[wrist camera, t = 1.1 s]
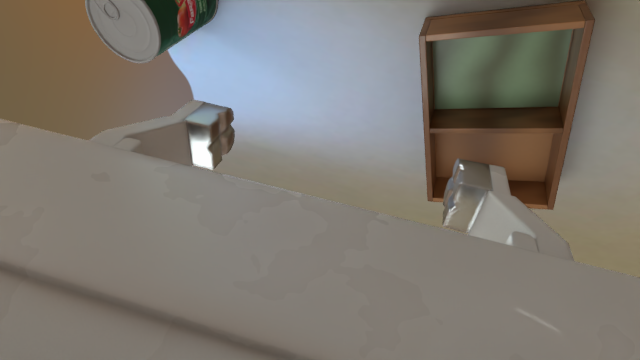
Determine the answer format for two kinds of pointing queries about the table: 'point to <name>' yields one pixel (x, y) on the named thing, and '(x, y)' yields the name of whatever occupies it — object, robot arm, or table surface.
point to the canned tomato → (147, 24)
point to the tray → (503, 93)
